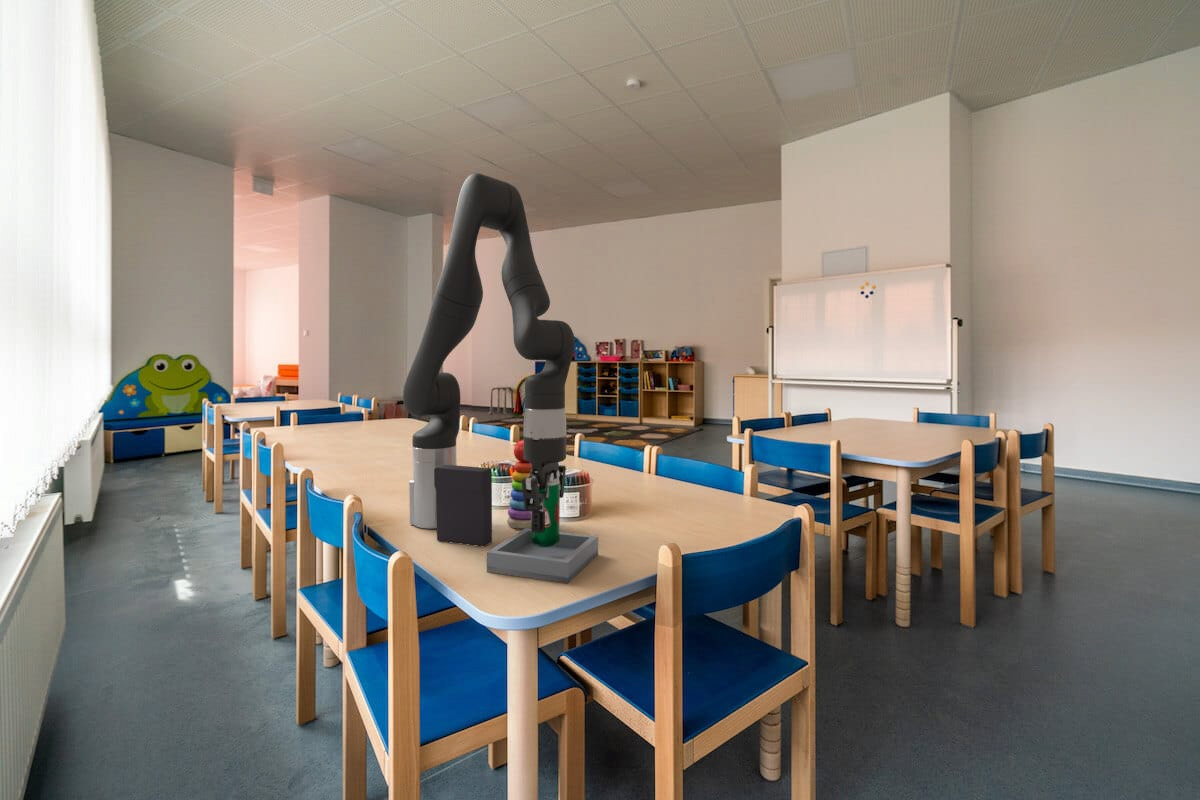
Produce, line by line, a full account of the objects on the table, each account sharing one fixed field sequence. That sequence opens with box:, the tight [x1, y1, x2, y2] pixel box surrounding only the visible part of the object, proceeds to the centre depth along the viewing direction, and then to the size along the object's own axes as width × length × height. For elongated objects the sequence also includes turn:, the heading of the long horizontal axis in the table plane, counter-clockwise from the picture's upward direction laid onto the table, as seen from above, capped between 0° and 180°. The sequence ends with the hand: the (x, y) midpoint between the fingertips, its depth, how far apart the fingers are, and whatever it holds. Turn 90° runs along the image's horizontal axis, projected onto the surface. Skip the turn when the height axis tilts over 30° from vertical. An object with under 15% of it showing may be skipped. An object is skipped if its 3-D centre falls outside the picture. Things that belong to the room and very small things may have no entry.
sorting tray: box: [486, 528, 599, 584], centre depth 105 cm, size 15×15×4 cm
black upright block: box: [434, 464, 493, 547], centre depth 117 cm, size 11×4×15 cm, turn 71°
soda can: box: [530, 477, 561, 547], centre depth 105 cm, size 5×5×12 cm
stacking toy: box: [506, 439, 532, 530], centre depth 129 cm, size 8×8×19 cm
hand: (545, 527), depth 105 cm, fingers closed on soda can, 5 cm apart
